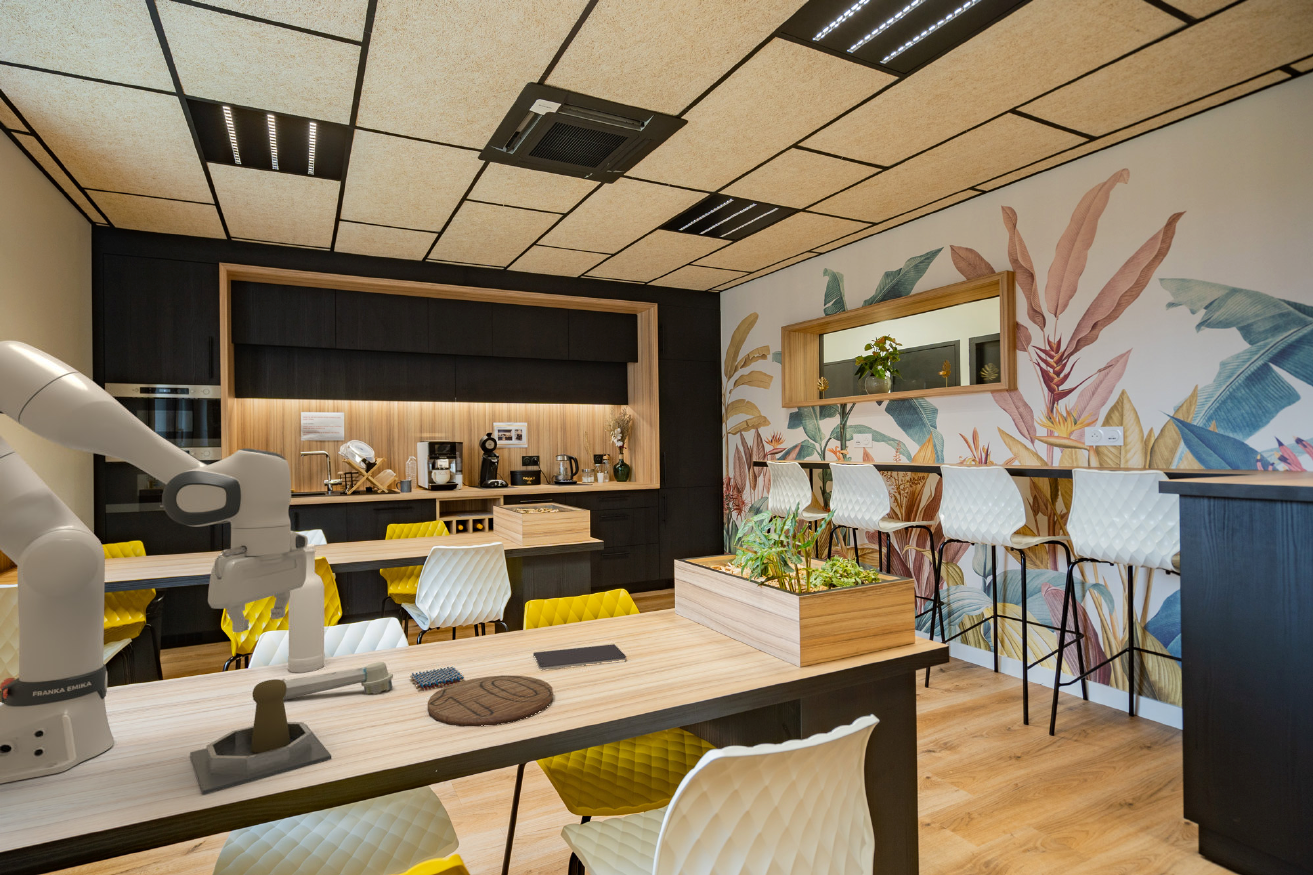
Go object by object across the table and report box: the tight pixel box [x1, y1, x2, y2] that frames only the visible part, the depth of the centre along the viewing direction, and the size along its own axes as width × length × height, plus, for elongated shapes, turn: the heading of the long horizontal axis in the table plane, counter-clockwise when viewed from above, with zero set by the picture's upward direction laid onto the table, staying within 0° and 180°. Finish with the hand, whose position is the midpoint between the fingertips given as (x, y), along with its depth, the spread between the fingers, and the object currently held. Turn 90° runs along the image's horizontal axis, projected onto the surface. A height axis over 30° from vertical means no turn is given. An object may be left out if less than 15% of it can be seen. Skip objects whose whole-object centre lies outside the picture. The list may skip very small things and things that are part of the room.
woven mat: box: [409, 666, 466, 692], centre depth 151 cm, size 10×11×2 cm
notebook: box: [532, 643, 627, 671], centre depth 167 cm, size 13×2×21 cm
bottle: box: [287, 543, 326, 674], centre depth 164 cm, size 8×8×30 cm
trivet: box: [427, 675, 554, 727], centre depth 137 cm, size 25×25×2 cm
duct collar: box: [189, 721, 332, 796], centre depth 113 cm, size 18×18×3 cm
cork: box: [251, 679, 290, 752], centre depth 117 cm, size 6×6×11 cm
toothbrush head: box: [281, 661, 394, 702], centre depth 143 cm, size 5×7×25 cm
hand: (260, 624), depth 114 cm, fingers open, 8 cm apart
